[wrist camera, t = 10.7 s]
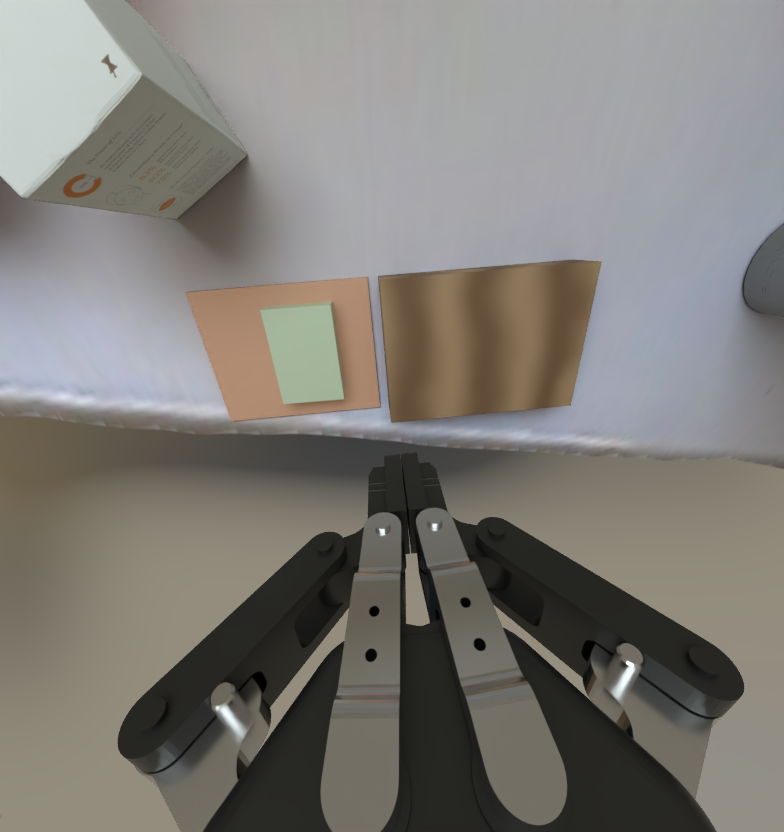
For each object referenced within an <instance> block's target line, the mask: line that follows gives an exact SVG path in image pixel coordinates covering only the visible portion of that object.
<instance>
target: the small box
mask: <svg viewBox="0 0 784 832" xmlns="http://www.w3.org/2000/svg"><path fill="white" fill-rule="evenodd" d="M246 156H247V153H246V151H245V150H244V148H243V147H242V146H241V144H240V143H239V141H238V140H237V138H236V137H235V135H234V134H233V132H232V131H231V129H230V128H229V126H228V125H227V123H226V122H225V121H224V119H223V118H222V116H221V115H220V113H219V112H218V110H217V109H216V107H215V106H214V104H213V103H212V101H211V100H210V98H209V97H208V95H207V94H206V92H205V91H204V89H203V88H202V86H201V85H200V83H199V82H198V80H197V79H196V77H195V76H194V74H193V73H192V72H191V70H190V69H189V67H188V66H187V64H186V63H185V61H184V60H183V58H182V57H181V56H180V55H179V54H178V53H177V52H176V51H175V50H174V49H173V48H172V47H171V46H170V45H169V44H168V43H167V42H166V41H165V40H164V39H163V38H162V37H161V36H160V35H159V34H158V33H157V32H156V31H155V30H154V29H153V28H152V27H151V26H150V25H149V24H148V23H147V22H146V21H145V20H144V19H143V18H142V17H141V16H140V15H139V14H138V13H137V12H136V11H135V10H134V9H133V8H132V7H131V6H130V5H129V4H128V3H127V2H126V1H125V0H0V176H1V177H2V178H3V179H4V180H5V181H6V182H7V183H8V184H9V185H10V186H11V187H12V189H13V190H14V191H15V192H16V193H17V194H18V195H19V196H20V197H21V198H23V199H28V200H36V201H43V202H51V203H59V204H66V205H73V206H81V207H88V208H95V209H102V210H109V211H117V212H124V213H132V214H139V215H146V216H154V217H161V218H168V219H177V218H178V217H179V216H180V215H182V214H183V213H184V212H185V211H186V210H187V209H188V208H190V207H191V206H192V205H193V204H194V203H195V202H196V201H197V200H199V199H200V198H201V197H202V196H203V195H204V194H205V193H206V192H207V191H208V190H210V189H211V188H212V187H213V186H214V185H215V184H216V183H217V182H219V181H220V180H221V179H222V178H223V177H224V176H225V175H226V174H227V173H228V172H230V171H231V170H232V169H233V168H234V167H235V166H236V165H237V164H238V163H239V162H240V161H241V160H243V159H244V158H245V157H246Z"/></svg>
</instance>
